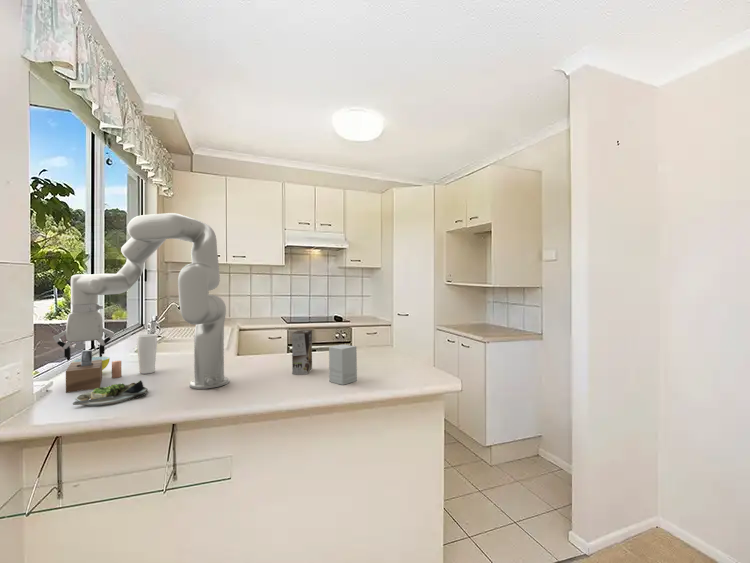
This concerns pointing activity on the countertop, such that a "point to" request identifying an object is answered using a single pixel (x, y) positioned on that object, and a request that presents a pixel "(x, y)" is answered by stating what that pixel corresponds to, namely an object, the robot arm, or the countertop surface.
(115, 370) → the short pin
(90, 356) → the long pin
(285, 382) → the countertop surface
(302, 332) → the coffee box
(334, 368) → the supplement box
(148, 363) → the drinking glass
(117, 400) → the salad plate
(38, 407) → the countertop surface
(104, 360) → the bowl
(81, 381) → the brown slotted box
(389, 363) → the countertop surface
